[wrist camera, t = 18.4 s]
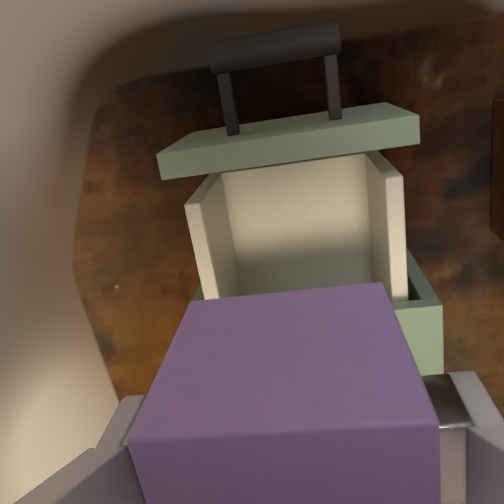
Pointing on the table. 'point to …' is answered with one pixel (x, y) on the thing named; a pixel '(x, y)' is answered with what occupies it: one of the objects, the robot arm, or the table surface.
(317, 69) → the table surface
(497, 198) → the stand
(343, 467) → the lavender cube
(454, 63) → the table surface
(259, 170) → the drawer
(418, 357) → the sage green nightstand
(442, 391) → the robot arm
